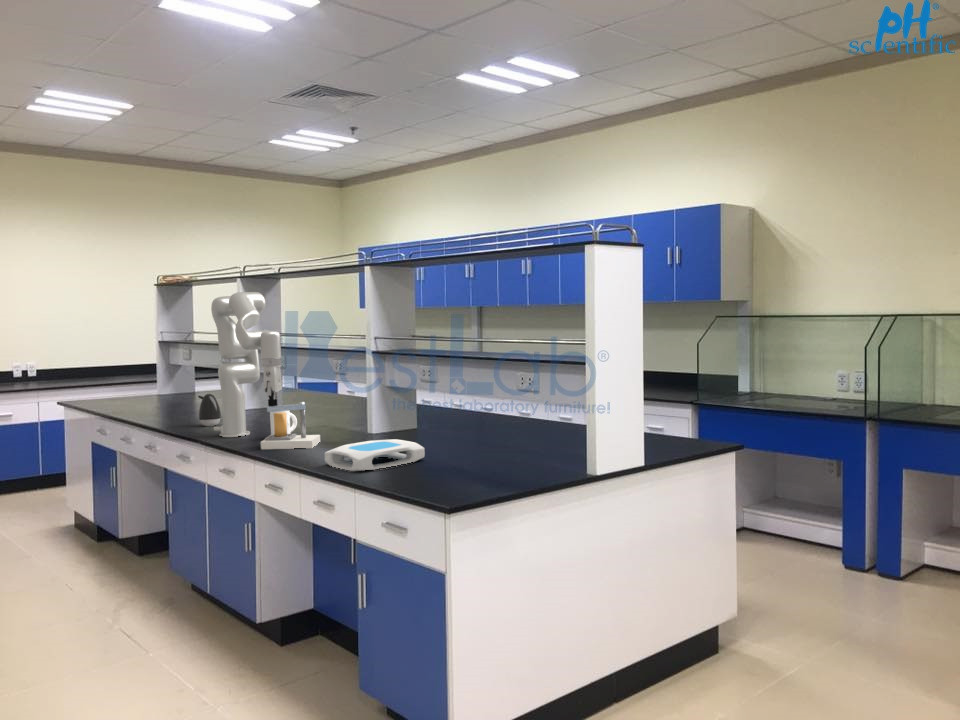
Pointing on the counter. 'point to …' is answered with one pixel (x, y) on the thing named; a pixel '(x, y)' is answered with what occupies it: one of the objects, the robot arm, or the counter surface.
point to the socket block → (290, 442)
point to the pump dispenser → (209, 410)
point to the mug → (288, 416)
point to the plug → (280, 425)
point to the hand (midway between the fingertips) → (273, 409)
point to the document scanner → (373, 454)
